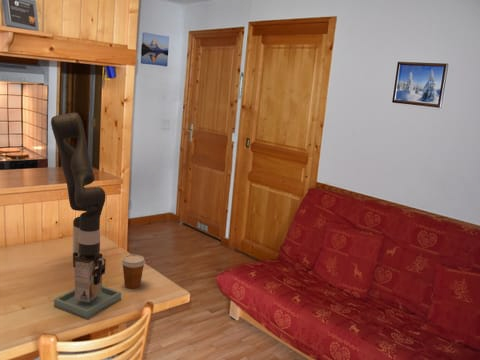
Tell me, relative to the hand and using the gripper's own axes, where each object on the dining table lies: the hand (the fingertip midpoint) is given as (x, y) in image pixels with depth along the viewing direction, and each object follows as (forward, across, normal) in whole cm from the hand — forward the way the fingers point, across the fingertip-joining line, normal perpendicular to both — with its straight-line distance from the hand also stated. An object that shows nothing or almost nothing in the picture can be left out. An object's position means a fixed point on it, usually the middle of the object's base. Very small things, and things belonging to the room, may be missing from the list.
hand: (88, 281), depth 166 cm
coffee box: (+6, 0, 0) cm, 6 cm away
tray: (+9, 0, 0) cm, 9 cm away
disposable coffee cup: (+9, -4, -21) cm, 23 cm away
